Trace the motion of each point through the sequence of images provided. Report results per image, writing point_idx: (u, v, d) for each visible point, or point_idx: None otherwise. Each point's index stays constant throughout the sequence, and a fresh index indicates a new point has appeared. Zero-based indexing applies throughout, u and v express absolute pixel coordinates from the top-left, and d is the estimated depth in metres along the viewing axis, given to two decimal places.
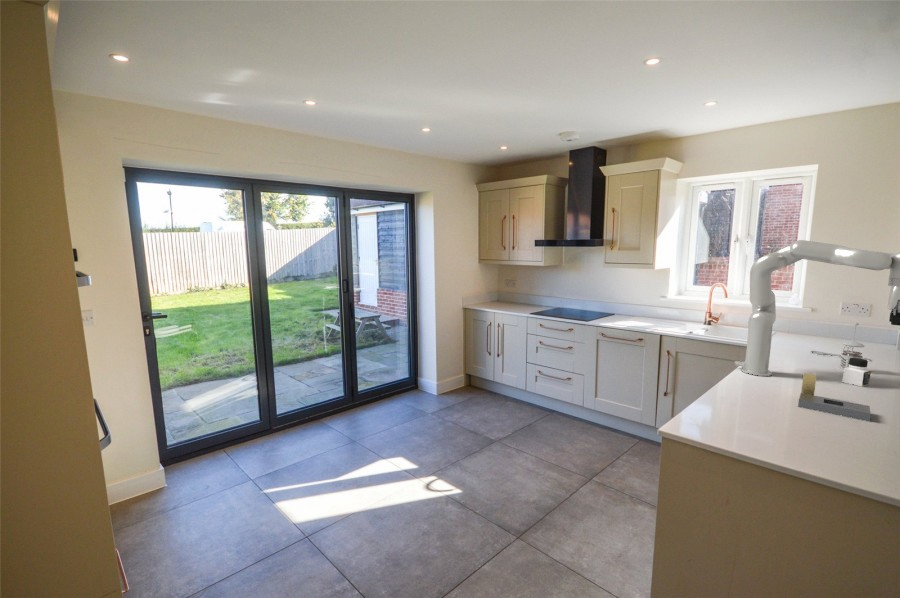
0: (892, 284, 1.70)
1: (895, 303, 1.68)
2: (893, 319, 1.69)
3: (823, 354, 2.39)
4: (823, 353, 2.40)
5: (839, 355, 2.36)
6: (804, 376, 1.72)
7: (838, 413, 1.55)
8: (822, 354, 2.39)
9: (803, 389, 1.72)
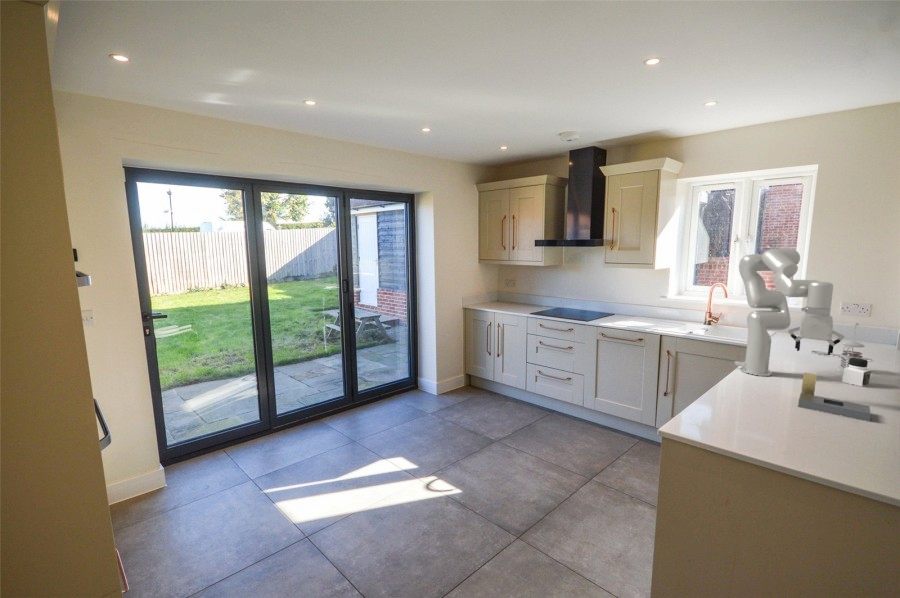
0: (826, 314, 1.65)
1: (832, 333, 1.65)
2: (830, 349, 1.66)
3: (824, 354, 2.39)
4: (824, 353, 2.40)
5: (840, 355, 2.36)
6: (804, 376, 1.72)
7: (838, 413, 1.55)
8: (823, 354, 2.39)
9: (803, 389, 1.72)
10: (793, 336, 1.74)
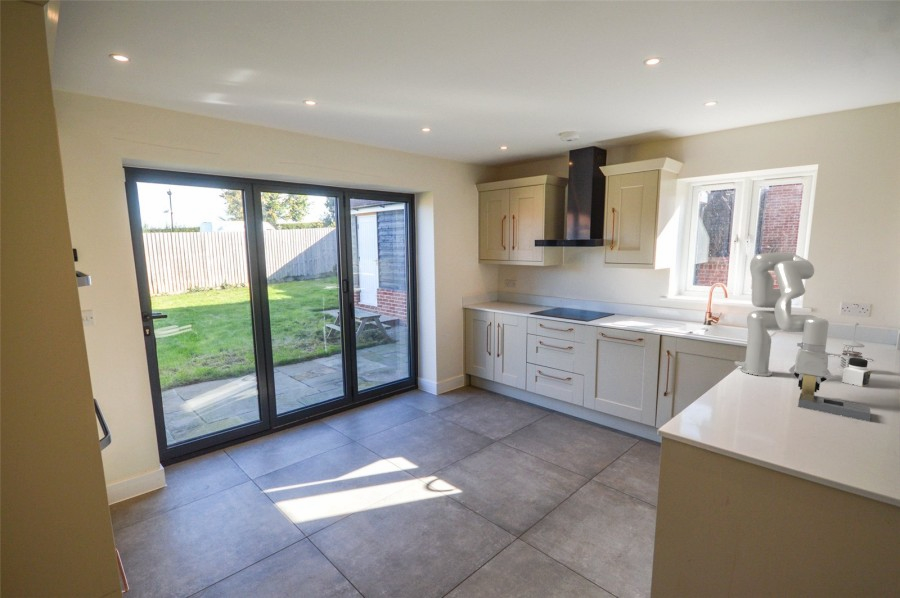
0: (821, 351, 1.67)
1: (827, 370, 1.67)
2: (817, 387, 1.70)
3: None
4: None
5: None
6: (804, 376, 1.72)
7: (838, 413, 1.55)
8: None
9: (803, 389, 1.72)
10: (796, 374, 1.74)
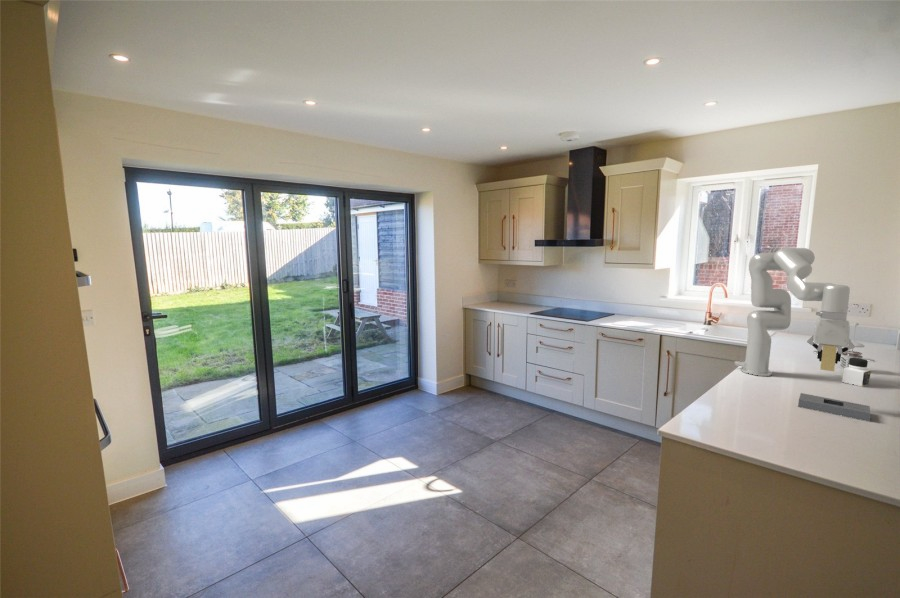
0: (842, 319, 1.57)
1: (849, 339, 1.57)
2: (838, 358, 1.60)
3: None
4: None
5: None
6: (824, 346, 1.62)
7: (838, 413, 1.55)
8: None
9: (823, 360, 1.62)
10: (815, 345, 1.64)
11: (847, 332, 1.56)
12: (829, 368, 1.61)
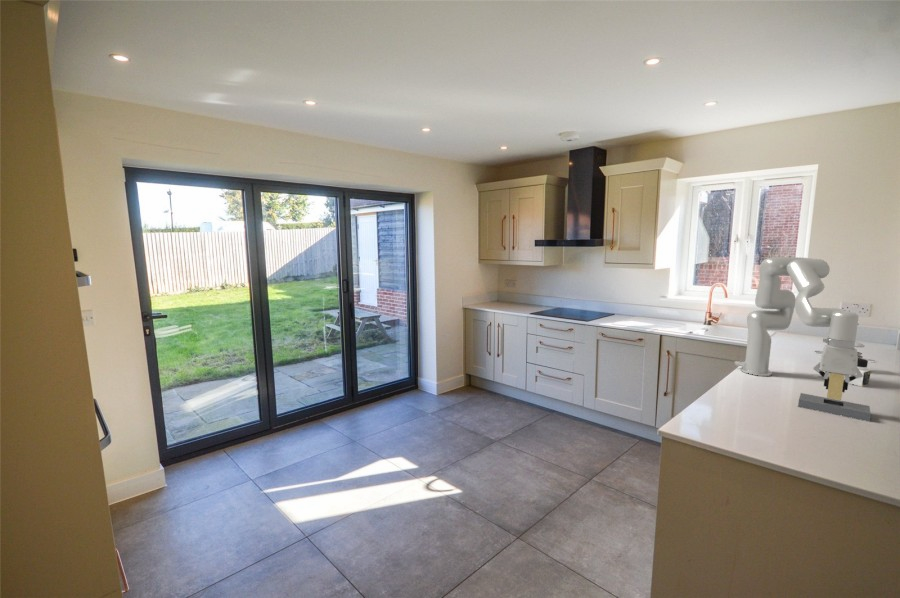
0: (850, 347, 1.53)
1: (857, 368, 1.53)
2: (845, 386, 1.56)
3: None
4: None
5: None
6: (831, 374, 1.58)
7: (838, 413, 1.55)
8: None
9: (830, 389, 1.58)
10: (822, 373, 1.61)
11: (855, 361, 1.53)
12: (836, 396, 1.57)
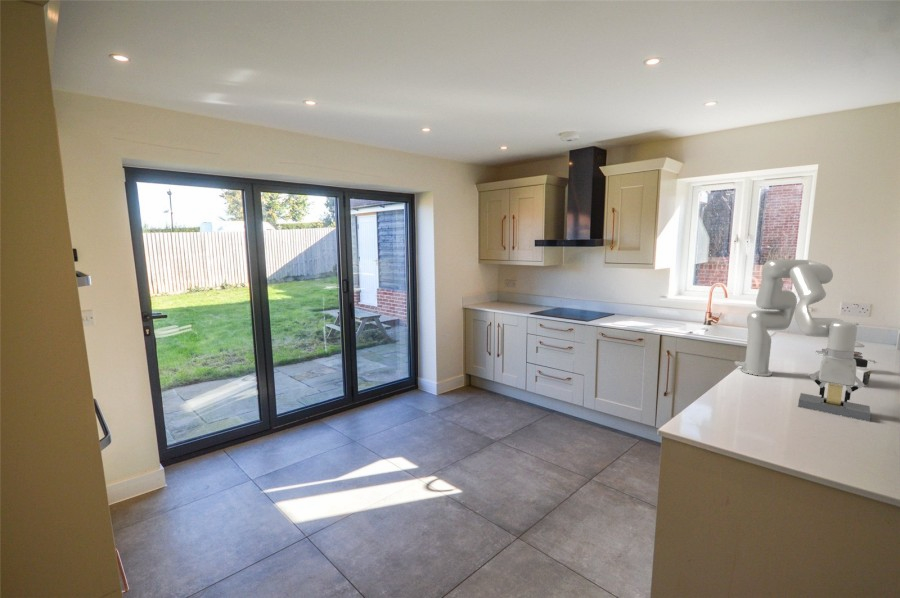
0: (849, 358, 1.54)
1: (855, 378, 1.54)
2: (847, 396, 1.56)
3: None
4: None
5: None
6: (829, 387, 1.59)
7: (838, 413, 1.55)
8: (824, 354, 2.40)
9: (828, 401, 1.59)
10: (817, 382, 1.62)
11: (854, 371, 1.53)
12: None
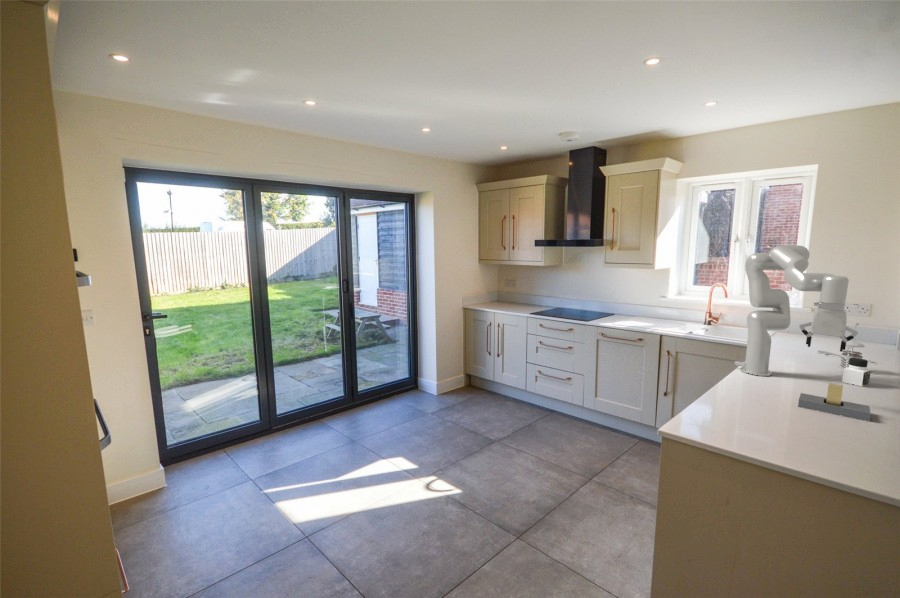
0: (839, 310, 1.59)
1: (845, 329, 1.59)
2: (843, 346, 1.61)
3: (826, 354, 2.40)
4: (827, 353, 2.40)
5: None
6: (829, 387, 1.59)
7: (838, 413, 1.55)
8: (825, 354, 2.40)
9: (828, 401, 1.59)
10: (804, 331, 1.68)
11: (844, 323, 1.59)
12: None
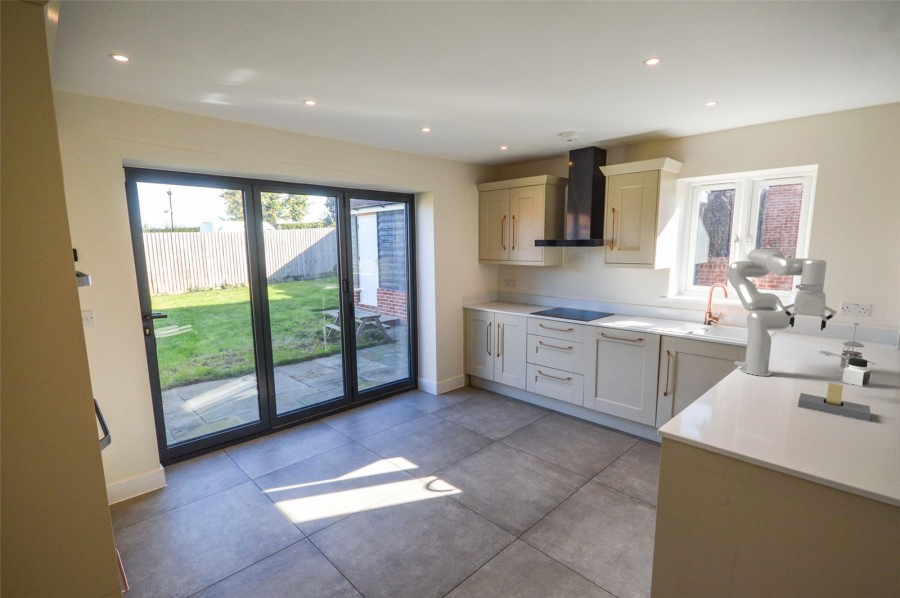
0: (819, 291, 1.71)
1: (825, 309, 1.71)
2: (823, 324, 1.72)
3: (826, 354, 2.40)
4: (828, 353, 2.40)
5: None
6: (829, 387, 1.59)
7: (838, 413, 1.55)
8: (825, 354, 2.40)
9: (828, 401, 1.59)
10: (787, 313, 1.80)
11: (823, 303, 1.71)
12: None
